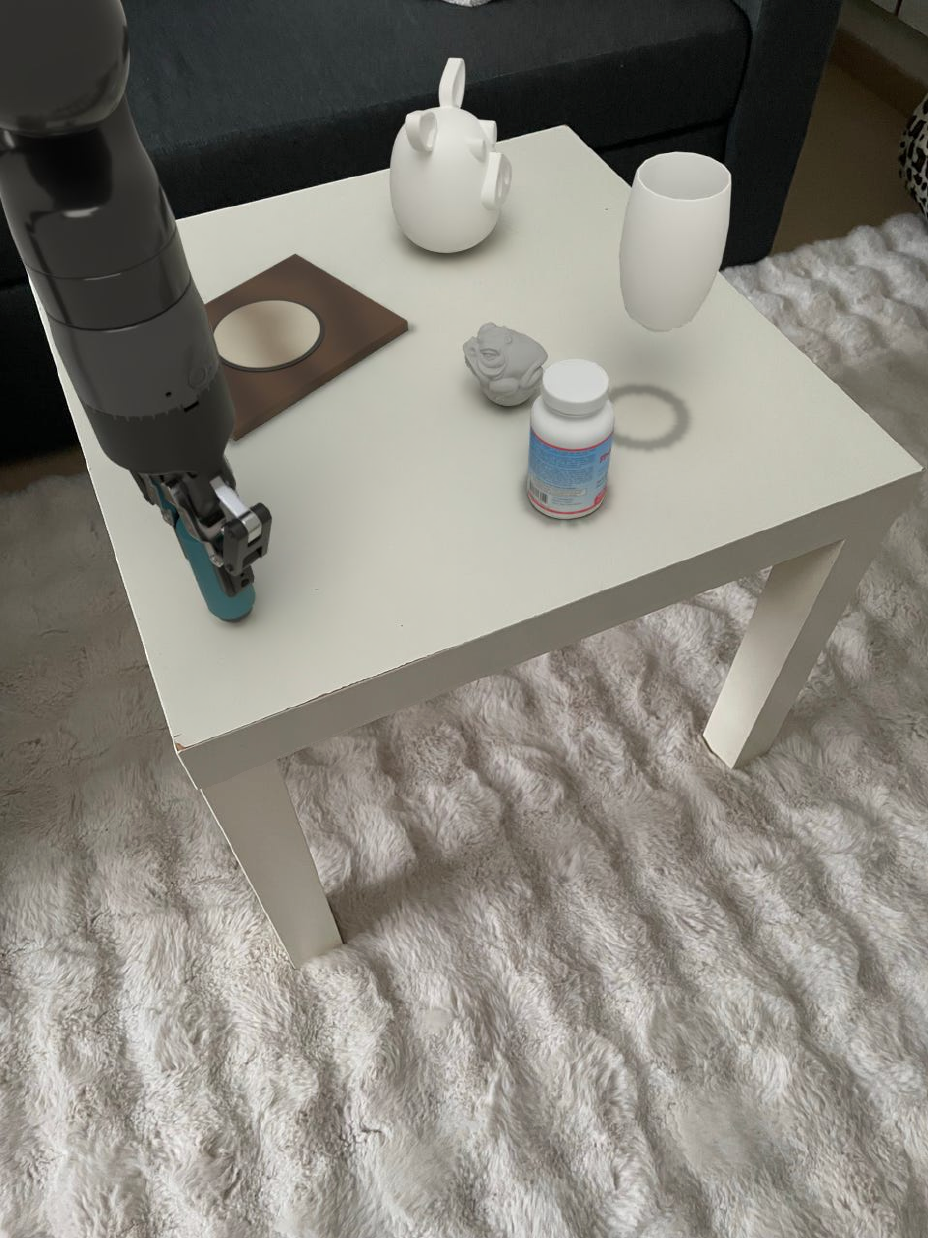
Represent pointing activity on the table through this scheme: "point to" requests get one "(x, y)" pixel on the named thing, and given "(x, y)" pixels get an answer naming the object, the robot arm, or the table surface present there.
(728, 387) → the table surface
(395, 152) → the piggy bank
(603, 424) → the pill bottle
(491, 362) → the grey sculpted head figurine
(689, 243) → the cup
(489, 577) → the table surface
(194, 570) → the teal cylinder
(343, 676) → the table surface
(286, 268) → the wooden board with hole
